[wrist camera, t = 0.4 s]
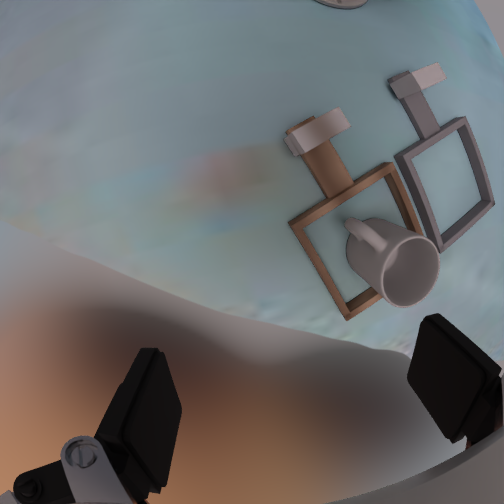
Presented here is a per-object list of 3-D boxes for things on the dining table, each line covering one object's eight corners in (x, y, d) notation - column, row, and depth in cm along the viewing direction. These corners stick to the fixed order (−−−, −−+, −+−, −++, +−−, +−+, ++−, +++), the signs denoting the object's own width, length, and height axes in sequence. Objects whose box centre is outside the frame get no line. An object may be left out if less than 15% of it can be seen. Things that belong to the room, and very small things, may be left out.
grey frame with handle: (426, 63, 29) (452, 51, 22) (485, 202, 35) (513, 208, 28) (357, 93, 31) (381, 78, 24) (431, 249, 37) (459, 262, 30)
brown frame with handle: (346, 98, 31) (368, 84, 24) (423, 256, 37) (450, 270, 30) (245, 156, 33) (245, 151, 26) (341, 313, 39) (358, 338, 32)
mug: (406, 241, 37) (451, 263, 26) (373, 286, 38) (409, 321, 28) (352, 189, 34) (392, 196, 24) (314, 240, 36) (341, 266, 26)
